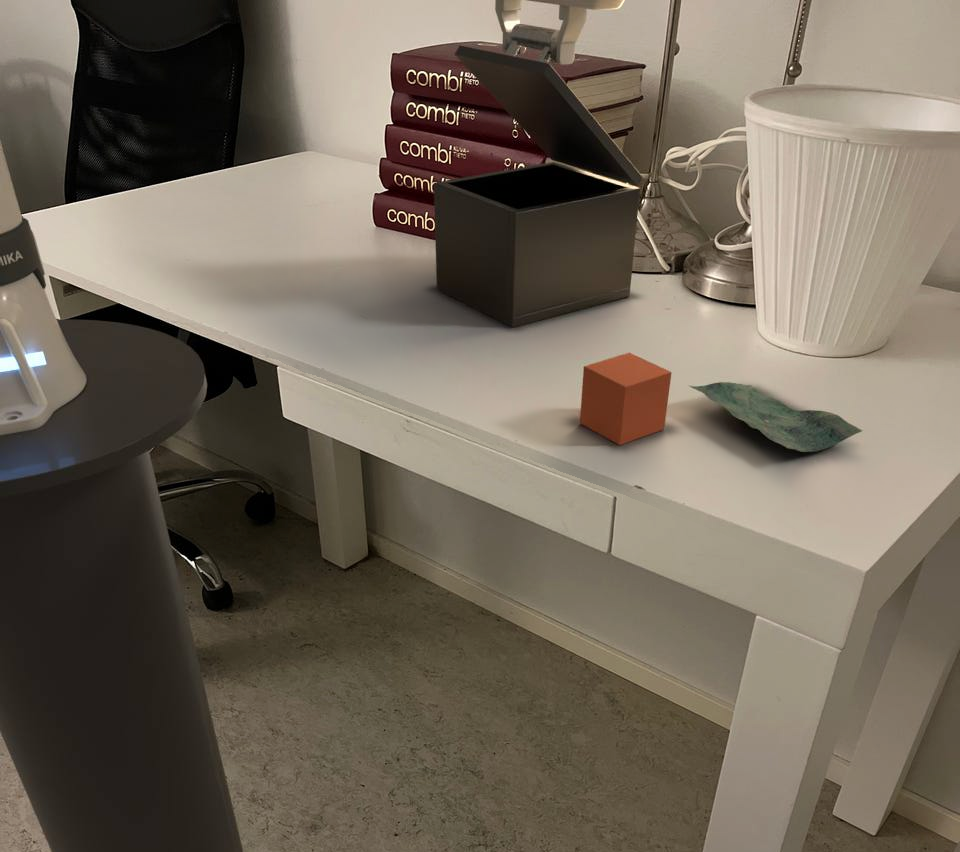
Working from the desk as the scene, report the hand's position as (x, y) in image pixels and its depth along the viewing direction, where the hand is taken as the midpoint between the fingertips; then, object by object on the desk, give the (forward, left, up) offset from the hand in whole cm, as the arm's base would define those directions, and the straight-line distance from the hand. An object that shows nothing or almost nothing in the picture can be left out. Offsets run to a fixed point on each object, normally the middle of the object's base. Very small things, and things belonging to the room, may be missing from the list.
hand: (537, 58), depth 92 cm
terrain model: (-4, -37, -23) cm, 43 cm away
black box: (0, 0, -22) cm, 22 cm away
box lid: (+2, 0, -6) cm, 6 cm away
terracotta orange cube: (-14, -30, -22) cm, 40 cm away
